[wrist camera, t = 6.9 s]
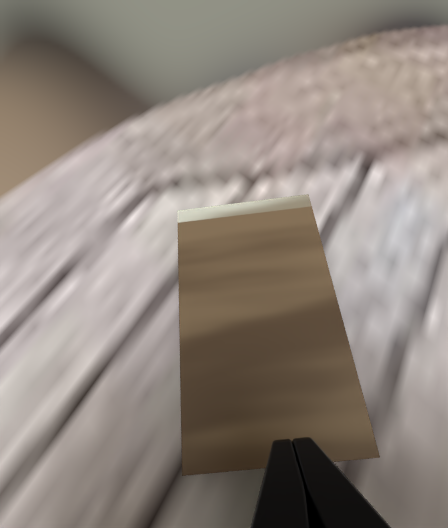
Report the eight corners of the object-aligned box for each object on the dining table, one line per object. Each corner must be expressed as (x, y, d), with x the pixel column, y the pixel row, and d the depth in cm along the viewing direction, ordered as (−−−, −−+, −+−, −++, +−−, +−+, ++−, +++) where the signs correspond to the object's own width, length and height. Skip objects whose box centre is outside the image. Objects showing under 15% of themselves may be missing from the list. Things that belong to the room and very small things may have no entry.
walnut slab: (379, 457, 11) (308, 194, 17) (182, 475, 12) (177, 210, 18) (354, 454, 15) (300, 231, 20) (197, 469, 15) (189, 245, 21)
